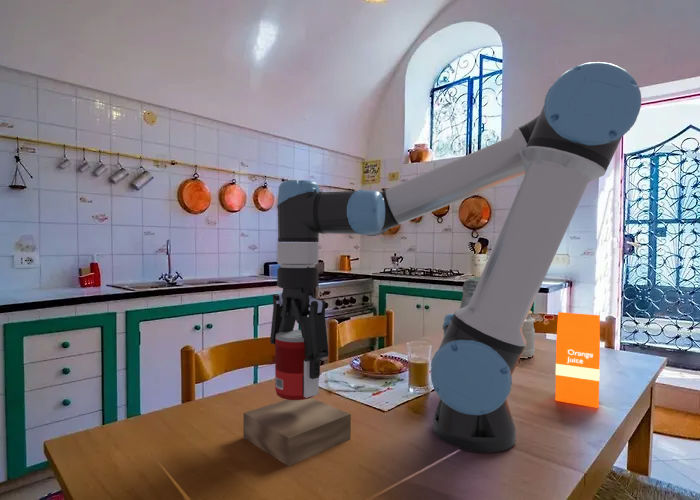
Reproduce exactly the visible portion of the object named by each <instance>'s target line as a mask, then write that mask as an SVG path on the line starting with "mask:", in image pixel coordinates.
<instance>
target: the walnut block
mask: <svg viewBox="0 0 700 500" xmlns="http://www.w3.org/2000/svg"><path fill="white" fill-rule="evenodd" d="M351 419H352V418H351V413H350V412H347V411H344V410H342V409H339V408H337V407H334V406H332V405H330V404H328V403H325V402H323V401H320V400H318V399H315V398H314V397H312V398H309V399H304V400H287V399H283V400H281V401H277V402H275V403H272V404H269V405H264V406H261V407H258V408H255V409H252V410H249V411H245V412H243V439H245V440H246V441H248V442H249V443H251V444H253V445H254V446H256V447H257V448H258V449H260V450H262V451H263V452H265V453H267V454H268V455H270V456H271V457H272V458H275V459H276V460H278V461H279V462H281V463H283V464H284V465H286V466H287V467H290V466H293V465H295V464H298V463H299V462H302V461H304V460H306V459H308V458H311V457H314V456H316V455H318V454H321V453H322V452H324V451H327V450H329V449H332V448H334V447H336V446H338V445H341V444H342V443H345V442H347V441H350V440H351V439H352V438H351V430H352V429H351V426H352V425H351V424H352V421H351Z"/></svg>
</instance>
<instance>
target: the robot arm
mask: <svg viewBox="0 0 700 500" xmlns="http://www.w3.org/2000/svg"><path fill="white" fill-rule="evenodd" d="M641 108H642V94H641V89H640V86H639V85H638V84H637V81H636V79H635V78H634V76H632V75H631V73H629V72H628V71H627V70H626V69H624V68H622V67H621V66H618V65H615V64H613V63H609V62H600V61H597V62H595V61H594V62H586V63H582V64H579V65H576V66H574V67H572V68H570V69H568V70H567V71H565V72H564V73H562V74H561V75H560V77H558V78H557V79H556V81H554V83H553V84H552V85H551V86H550V88H549V89H548V91H547V93H546V95H545V98H544V104H543V107H542V110H541V111H540V113H539V115H537V116H536V117H535V118H533V119H532V120H530V121H529V122H527V123H525V124H523V125H520V126H518V127H516V128H514V130H513V132H512V134H511V136H509V137H506V138H504V139H501V140H499V141H497V142H495V143H492V144H489V145H488V146H486V147H483V148H480V149H478V150H475V151H474V152H471V153H469V154H467V155H464V156H462V157H459V158H457V159H455V160H452V161H450V162H448V163H445V164H443V165H441V166H439V167H436V168H433V169H431V170H429V171H427V172H424V173H422V174H420V175H417V176H415V177H412V178H410V179H407V180H405V181H403V182H401V183H398V184H396V185H394V186H391V187H389V188H387V189H385V190H382V191H380V192H379V191H377V190H367V189H358V190H347V191H346V190H345V191H341V190H339V191H321V190H320V185H319V184H318V182H316V181H312V180H307V179H303V180H301V179H300V180H299V179H294V180H293V179H292V180H285V181H283V182H281V183H280V184H279V186H278V191H277V192H278V193H277V195H278V196H277V204H276V208H277V247H276V248H277V253H276V255H277V256H276V257H277V258H276V263H277V264H278V265H280V266H279V267H278V268H277V270H276V271H277V272H276V273H277V274H276V275H277V277H276V278H277V283H276V285H277V286H278V288H281V289H282V293H276V294H273V295H272V306H273V309H272V316H271V317H272V319H271V329H270V339H269V341H270V344H271V345H275V337H276V334H277V333H279V332H288V331H293V330H295V329H294V328H295V325H296V323H297V324H298V325H299V328H300V329H299V330H301V333H302V337H303V338H304V346H305V350H306V355H307V358H305V359H304V397H306V398H307V397H311V396H314V395H315V396H317V395H320V394H319V393H320V391H319V390H320V389H319V387H320V386H319V385H320V384H319V381H320V380H319V378H320V376H321V369H320V368H321V359H324V358H328V357H329V354H330V352H329V343H328V335H327V334H328V333H327V323H326V308H327V302H326V300H325V299H323V300H322V299H321V300H319V299H316V297H315V292H314V289H315V288H317V287H318V286H319V268H318V267H317V266H316V265H317V264H319V242H320V241H319V240H320V239H319V238H320V234H322V235H323V234H341V235H342V234H343V235H360V236H361V235H363V236H368V237H377V236H380V235H382V234H384V233H386V232H387V231H388V230H389V229H391V228H395V227H397V226H400V225H402V224H404V223H407V222H409V221H411V220H415V219H417V218H419V217H422V216H424V215H427V214H429V213H432V212H435V211H437V210H439V209H442V208H445V207H448V206H451V205H452V204H455V203H457V202H460V201H463V200H466V199H468V198H470V197H473V196H475V195H478V194H480V193H482V192H486V191H489V190H490V189H494V188H496V187H499V186H501V185H504V184H507V183H509V182H511V181H514V180H517V179H519V178H522V177H523V178H522V181H521V183H520V186H519V188H518V190H517V193H516V195H515V197H514V200H513V202H512V204H511V207H510V209H509V210H508V213H507V216H506V218H505V220H504V223H503V225H502V228H501V229H500V232H499V234H498V236H497V238H496V241H495V243H494V245H493V248H492V250H491V252H490V255H489V257H488V259H487V262H486V264H485V266H484V268H483V271H482V273H481V275H480V276H479V277H480V280H479V282H478V284H477V286H476V289H475V291H474V293H473V296H472V298H471V300H470V302H469V305H467V306H466V307H463V308H461V309H460V308H458V309H455V311H454V313H448V314H446V315H445V316H444V318H443V324H442V330H443V338H442V340H441V342H440V344H439V347H438V350H437V351H436V352H435V353H434V355H433V357H432V359H431V364H430V379H431V384H432V386H433V390H434V391H435V393H436V394H437V396H438V397H439V402H438V405H437V407H436V410H435V413H434V417H433V424H432V425H433V433H434V434H435V436H436V437H437V438H438V439H439V440H441V441H443V442H445V443H447V444H449V445H450V446H453V447H457V448H459V449H460V450H463V451H468V452H475V453H496V452H497V453H498V452H503V451H506V450H508V449H511V448H512V447H513V446H514V445H515V444H516V441H517V440H516V439H517V430H516V425H515V423H514V422H515V421H514V418H513V415H512V412H511V408H510V405H509V402H508V400H507V398H508V396H509V395H510V393H511V390H512V385H513V379H512V378H513V377H512V376H513V373H514V372H515V370H516V367H517V365H518V363H519V360H520V356H521V354H522V352H523V350H524V348H525V345H526V340H525V338H524V336H523V333H522V326H523V324H524V322H525V320H526V317H527V315H528V313H529V311H531V309H532V306H533V304H534V301H535V300H536V297H537V296H538V293H539V291H540V289H541V287H542V284H543V282H544V280H545V277H546V276H547V274H548V271H549V269H550V267H551V265H552V263H553V260H554V259H555V256H556V254H557V252H558V250H559V247H560V245H561V243H562V241H563V239H564V237H565V234H566V232H567V231H568V230H567V229H569V228H568V227H569V225H570V224H571V221H572V219H573V217H574V214H575V212H576V210H577V208H578V205H579V203H580V201H581V199H582V197H583V195H584V192H585V191H586V188H587V187H588V184H589V183H590V182H592V181H594V180H596V179H599V178H602V177H603V176H605V174H606V172H607V170H608V168H609V165H611V161H612V160H613V158H614V155H615V153H616V151H617V149H618V146H619V144H620V143H621V140H622V138H623V136H625V134H627V133H628V132H629V131H630V130H631V128H633V126H634V124H635V123H636V121H637V120H638V116H639V114H640V110H641ZM312 351H313V353H312ZM315 396H314V397H315Z"/></svg>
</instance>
